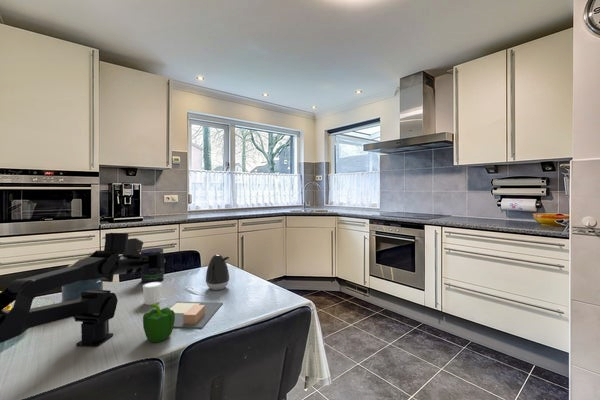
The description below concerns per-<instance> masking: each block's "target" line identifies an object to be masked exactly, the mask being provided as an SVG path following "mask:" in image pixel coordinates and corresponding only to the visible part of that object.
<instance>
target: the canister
mask: <svg viewBox="0 0 600 400" xmlns="http://www.w3.org/2000/svg"><path fill="white" fill-rule="evenodd" d="M84 258H85V257H82V258H79V259H78V261H79V260H82V259H84ZM75 263H76V262H74V263H70V264H69V265H67V267H70V266H72V265H74V264H75ZM60 288H61V302H66V301H71V300H76V299H78V298H80V297H81V291H85V292H86V291H90V290H91V289H95V290H104V282H102V281H101V278H99V279H90V280H80V281H77V282H74V283H70V284H67V285H64V286H61V287H60Z"/></svg>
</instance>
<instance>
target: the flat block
mask: <svg viewBox="0 0 600 400" xmlns="http://www.w3.org/2000/svg"><path fill="white" fill-rule="evenodd" d="M204 314H205V305H193V306H192V307H191V308H190V309H189V310H188V311H187V312H186V313H185V314H183V324H196V323H197V322H198V321H199V320H200V319H201V317H202V316H203V315H204Z"/></svg>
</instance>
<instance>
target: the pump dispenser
mask: <svg viewBox="0 0 600 400" xmlns="http://www.w3.org/2000/svg"><path fill="white" fill-rule="evenodd" d="M229 257H230V256H225V257H224V256H223V255H222V254H214V255H213V256H212V257H211V258H210V260H209V263H208V265H207V268H206V272H205V273H206V274H205V282H206V283H205V284H206V286H207V287H208V289H210V290H213V291H220V290H223V289H225V288H226V287H227V286H228V284H229V281H230V272H229V271H230V270H229V267H228V265H227V262H226V261H228V260H229V259H230V258H229Z"/></svg>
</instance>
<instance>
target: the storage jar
mask: <svg viewBox="0 0 600 400" xmlns="http://www.w3.org/2000/svg"><path fill="white" fill-rule="evenodd" d="M154 252H163V253H164V249H163V248H160V247H158V248H155V247H154V248H153V247H152V248H144V249H141V252H140V254H142V253H143V257H142V258H144V257H148V256H149V254H150V253H154ZM144 261H149V260H144ZM164 270H165V269H163V270H158V271H150V270H149V264H143V267H142V271H141V272H140V280H141V281H140V283H141V284H142V285H144V284H147V283H151V282H161V281H162V282H163V281H164V280H165V279H164V275H165V272H164ZM162 282H161V283H162Z"/></svg>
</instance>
